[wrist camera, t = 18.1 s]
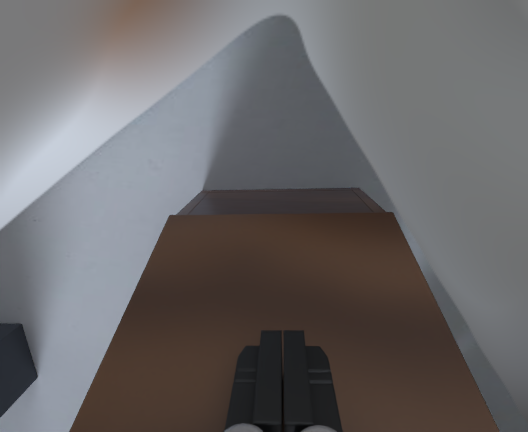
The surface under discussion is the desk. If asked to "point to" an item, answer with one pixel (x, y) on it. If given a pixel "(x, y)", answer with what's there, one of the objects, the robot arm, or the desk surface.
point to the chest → (281, 202)
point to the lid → (283, 326)
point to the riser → (14, 365)
